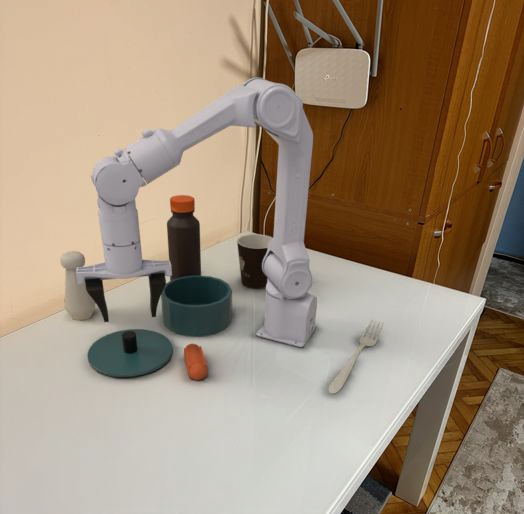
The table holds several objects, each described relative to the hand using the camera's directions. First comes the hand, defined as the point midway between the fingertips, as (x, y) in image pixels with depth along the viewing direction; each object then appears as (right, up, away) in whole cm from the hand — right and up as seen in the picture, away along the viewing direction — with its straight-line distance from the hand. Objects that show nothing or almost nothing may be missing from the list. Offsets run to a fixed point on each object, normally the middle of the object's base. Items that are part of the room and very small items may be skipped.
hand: (130, 316), depth 85 cm
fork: (+39, -7, +6) cm, 40 cm away
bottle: (+5, +7, +28) cm, 29 cm away
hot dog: (+11, -9, +2) cm, 14 cm away
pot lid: (-1, -6, +4) cm, 7 cm away
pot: (+9, 0, +16) cm, 18 cm away
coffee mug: (+21, +10, +33) cm, 40 cm away
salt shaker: (-14, +1, +16) cm, 21 cm away
